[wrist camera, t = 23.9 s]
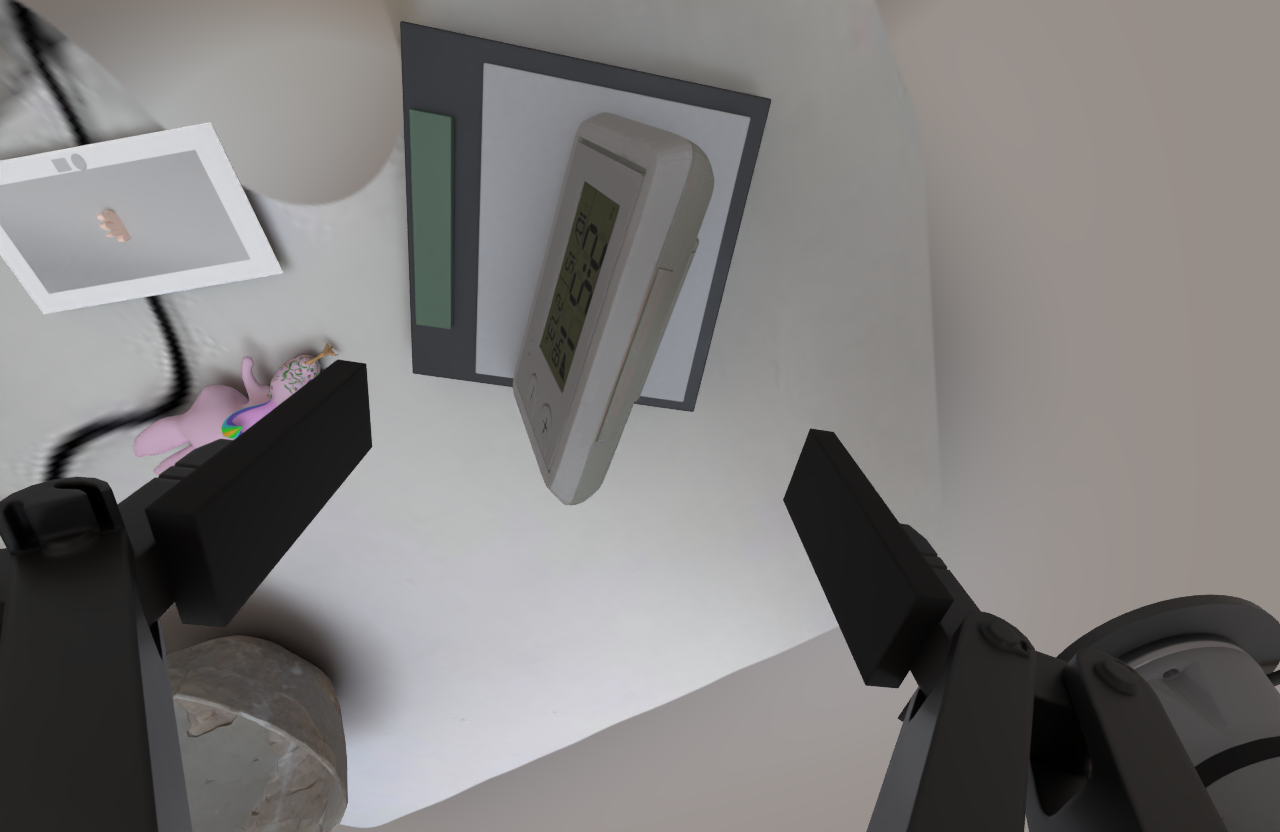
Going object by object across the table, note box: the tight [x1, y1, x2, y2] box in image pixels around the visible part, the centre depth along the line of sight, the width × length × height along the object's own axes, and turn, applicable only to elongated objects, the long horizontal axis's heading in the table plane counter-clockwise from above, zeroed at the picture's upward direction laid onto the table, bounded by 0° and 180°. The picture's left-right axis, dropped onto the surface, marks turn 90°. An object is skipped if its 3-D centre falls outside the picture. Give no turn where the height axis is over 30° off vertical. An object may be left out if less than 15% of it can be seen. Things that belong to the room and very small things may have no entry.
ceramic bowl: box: [166, 635, 348, 832], centre depth 44 cm, size 22×23×10 cm
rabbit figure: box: [133, 342, 339, 475], centre depth 33 cm, size 6×6×15 cm
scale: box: [400, 21, 771, 412], centre depth 30 cm, size 18×18×3 cm
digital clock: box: [513, 112, 715, 505], centre depth 25 cm, size 16×9×11 cm, turn 149°
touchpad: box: [0, 122, 283, 314], centre depth 29 cm, size 8×15×2 cm, turn 99°
